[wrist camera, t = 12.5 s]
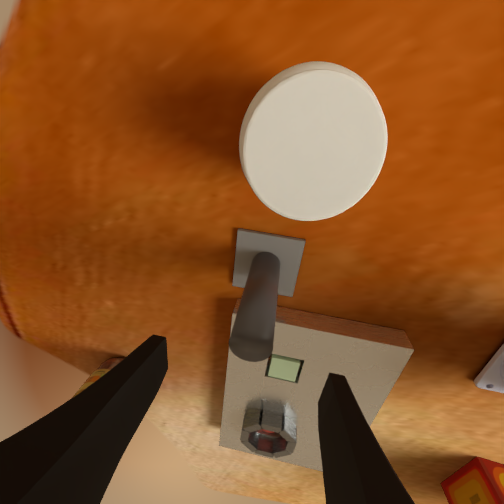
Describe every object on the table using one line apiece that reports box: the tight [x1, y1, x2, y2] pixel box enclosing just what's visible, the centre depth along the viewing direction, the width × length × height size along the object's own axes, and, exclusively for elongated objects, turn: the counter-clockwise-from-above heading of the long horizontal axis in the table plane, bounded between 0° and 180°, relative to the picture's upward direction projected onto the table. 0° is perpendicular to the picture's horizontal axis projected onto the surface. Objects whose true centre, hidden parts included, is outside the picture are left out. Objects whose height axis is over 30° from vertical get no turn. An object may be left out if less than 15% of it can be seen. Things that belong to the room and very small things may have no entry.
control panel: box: [219, 298, 414, 472], centre depth 24 cm, size 14×20×3 cm
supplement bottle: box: [239, 61, 387, 221], centre depth 11 cm, size 5×5×10 cm
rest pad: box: [232, 228, 305, 297], centre depth 20 cm, size 5×5×1 cm
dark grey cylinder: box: [229, 252, 280, 362], centre depth 16 cm, size 2×2×8 cm
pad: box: [268, 354, 300, 382], centre depth 22 cm, size 2×2×2 cm
